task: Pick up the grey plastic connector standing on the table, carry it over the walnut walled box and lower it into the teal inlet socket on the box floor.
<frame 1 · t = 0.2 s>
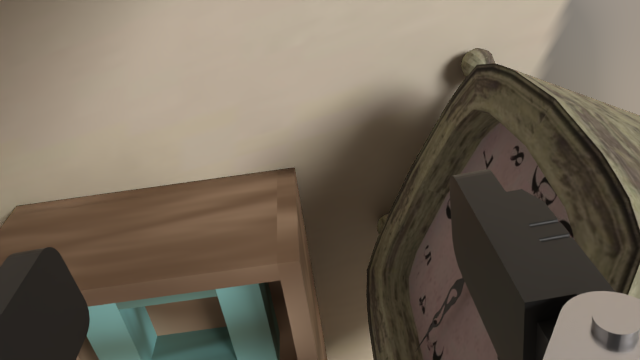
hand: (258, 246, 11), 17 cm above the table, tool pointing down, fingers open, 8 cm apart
walled box: (190, 288, 34), on the table
tabletop clock: (467, 156, 31), on the table
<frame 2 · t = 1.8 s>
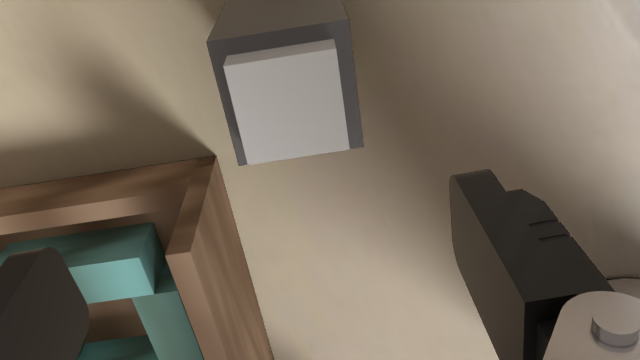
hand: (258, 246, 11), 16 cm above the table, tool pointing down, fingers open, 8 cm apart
walled box: (118, 291, 32), on the table
connector: (291, 24, 24), on the table
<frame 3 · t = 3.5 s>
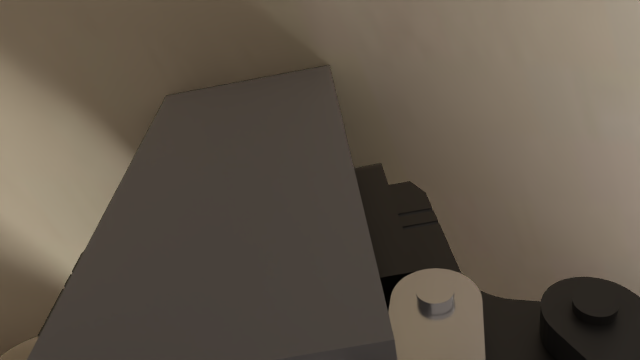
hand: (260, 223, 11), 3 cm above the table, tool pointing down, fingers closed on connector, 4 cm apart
connector: (265, 153, 14), on the table, touching gripper
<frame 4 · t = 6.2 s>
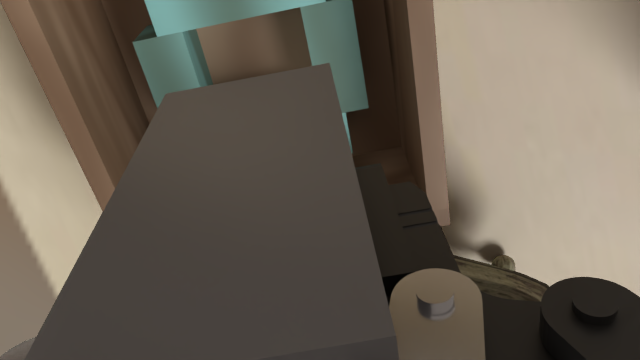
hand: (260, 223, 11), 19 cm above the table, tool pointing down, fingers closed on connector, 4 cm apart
walled box: (259, 52, 29), on the table
tabletop clock: (415, 271, 38), on the table
connector: (265, 151, 14), point 16 cm above the table, touching gripper
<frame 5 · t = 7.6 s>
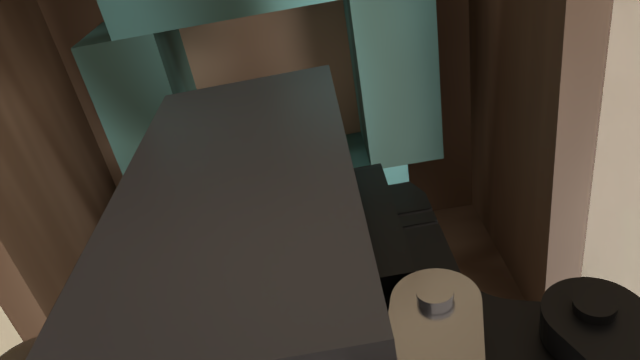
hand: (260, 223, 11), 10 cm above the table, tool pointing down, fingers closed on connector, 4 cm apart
walled box: (274, 65, 20), on the table
connector: (265, 153, 14), point 6 cm above the table, touching gripper
when the fingers open (6 cm above the table, at t = 8.8 s): connector drops 1 cm, resting on walled box.
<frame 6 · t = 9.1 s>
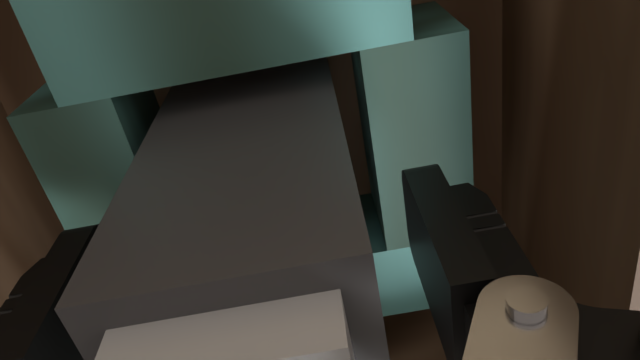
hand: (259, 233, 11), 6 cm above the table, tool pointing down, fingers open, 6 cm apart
walled box: (267, 117, 16), on the table
connector: (267, 131, 16), point 1 cm above the table, touching walled box
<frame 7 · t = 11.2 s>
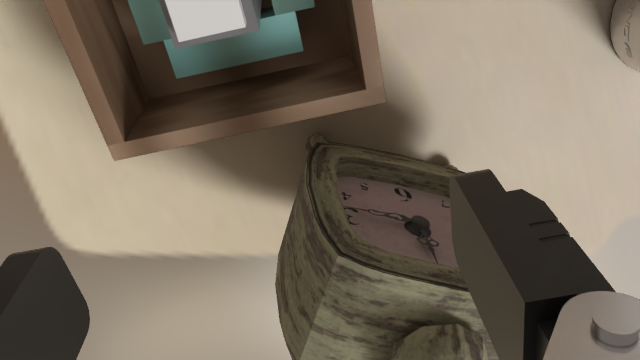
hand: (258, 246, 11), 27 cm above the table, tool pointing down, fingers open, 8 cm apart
tabletop clock: (370, 184, 42), on the table
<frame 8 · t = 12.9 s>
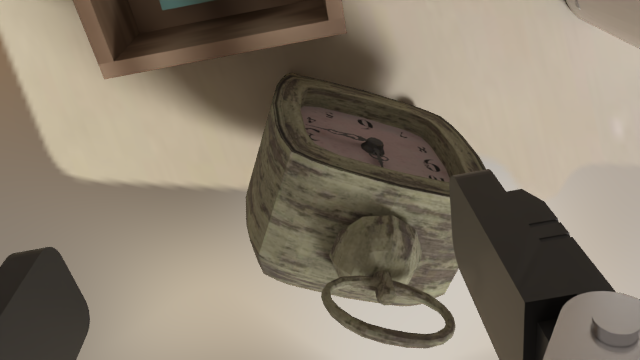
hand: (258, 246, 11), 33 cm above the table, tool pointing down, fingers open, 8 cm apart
tabletop clock: (342, 123, 46), on the table
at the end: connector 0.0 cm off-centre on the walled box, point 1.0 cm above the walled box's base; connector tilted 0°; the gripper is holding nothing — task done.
